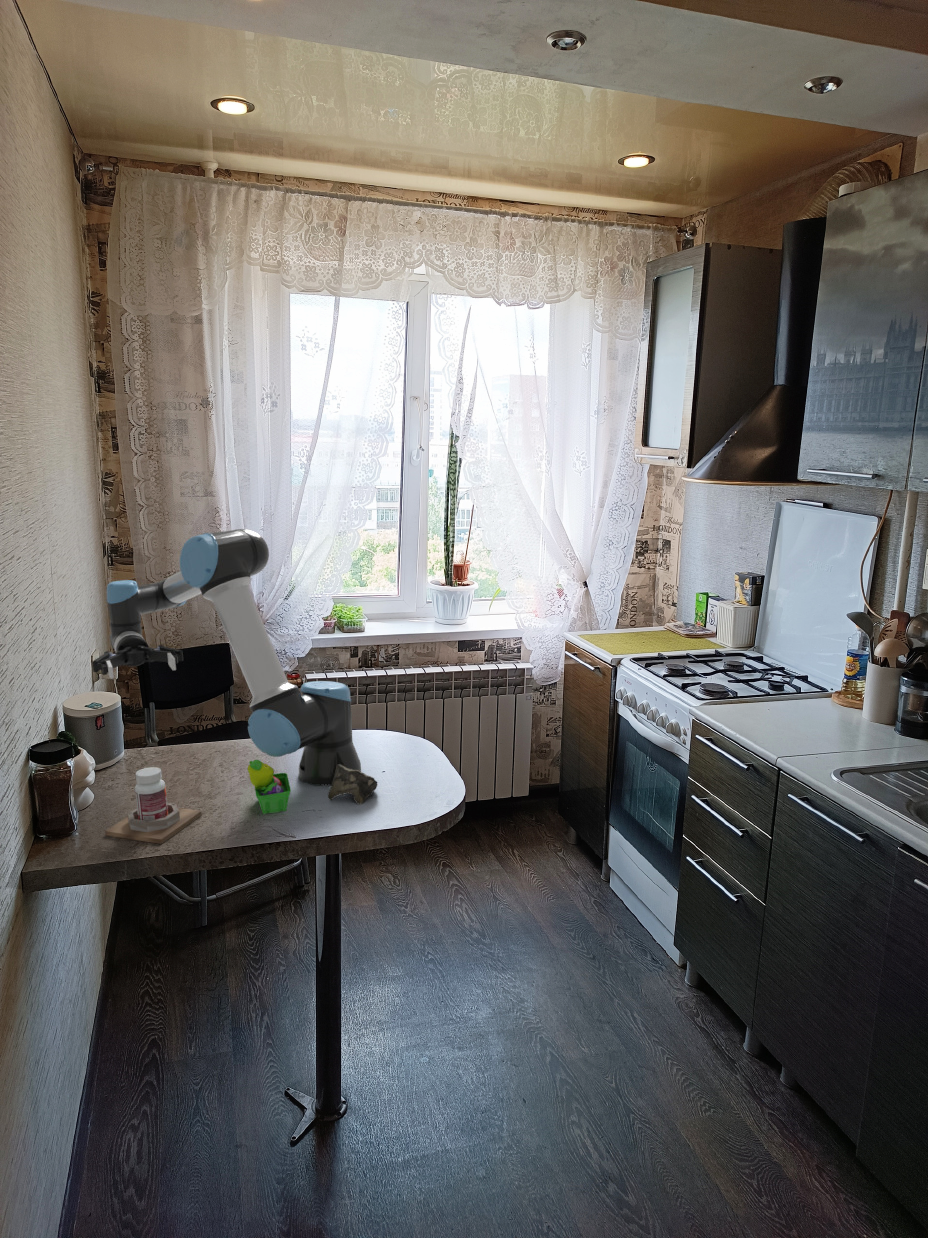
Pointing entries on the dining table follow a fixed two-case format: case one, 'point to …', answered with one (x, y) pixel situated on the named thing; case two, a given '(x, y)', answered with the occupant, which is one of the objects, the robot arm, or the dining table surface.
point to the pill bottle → (150, 794)
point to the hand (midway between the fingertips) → (143, 668)
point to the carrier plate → (154, 834)
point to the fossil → (352, 784)
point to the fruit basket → (269, 787)
